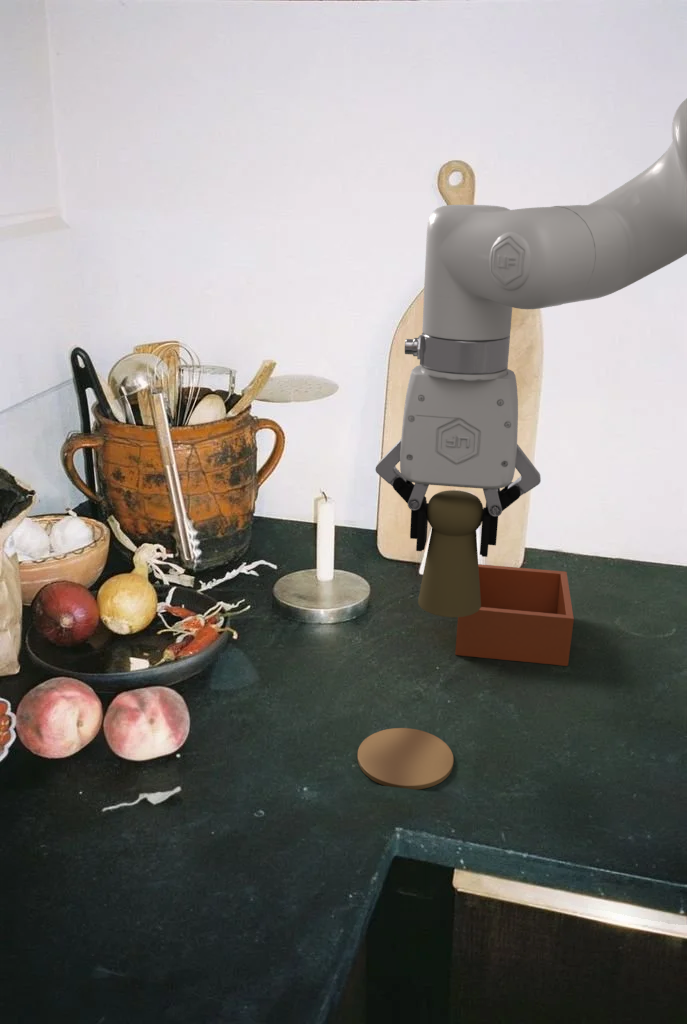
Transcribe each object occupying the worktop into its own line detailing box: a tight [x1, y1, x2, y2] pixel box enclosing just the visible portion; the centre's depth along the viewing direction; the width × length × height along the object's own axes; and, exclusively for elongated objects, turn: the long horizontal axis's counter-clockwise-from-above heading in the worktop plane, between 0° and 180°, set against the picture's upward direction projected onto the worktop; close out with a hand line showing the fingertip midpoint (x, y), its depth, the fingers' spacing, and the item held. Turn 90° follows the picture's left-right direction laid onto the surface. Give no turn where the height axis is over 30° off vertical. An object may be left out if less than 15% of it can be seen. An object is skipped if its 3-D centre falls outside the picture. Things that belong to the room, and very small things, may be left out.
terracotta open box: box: [454, 563, 575, 667], centre depth 110 cm, size 13×13×6 cm
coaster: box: [356, 727, 454, 791], centre depth 88 cm, size 9×9×1 cm
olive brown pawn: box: [417, 489, 484, 618], centre depth 87 cm, size 6×6×11 cm
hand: (452, 546), depth 87 cm, fingers closed on olive brown pawn, 5 cm apart
